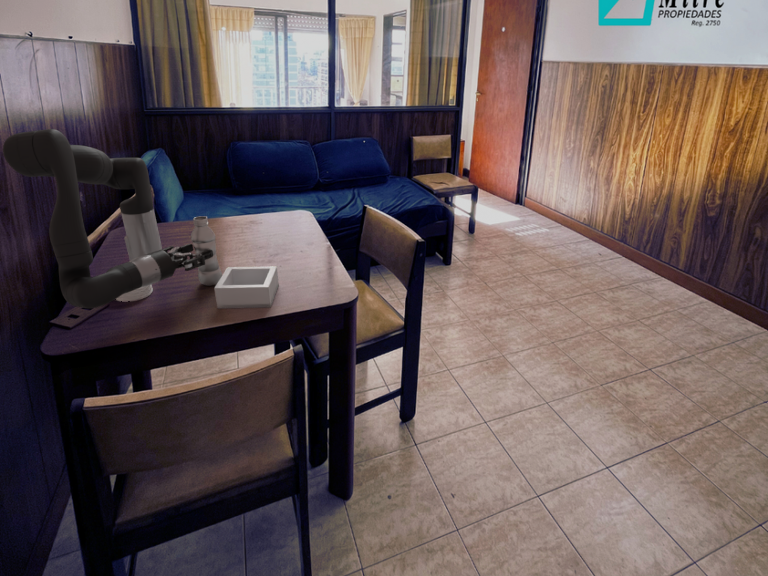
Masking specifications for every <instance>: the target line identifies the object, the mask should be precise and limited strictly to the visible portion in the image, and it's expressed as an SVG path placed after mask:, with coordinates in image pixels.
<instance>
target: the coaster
mask: <svg viewBox="0 0 768 576" xmlns="http://www.w3.org/2000/svg"><path fill="white" fill-rule="evenodd" d="M152 293H153V284H151V285H148V286H144V287H141V288H138V289H136V290H133V291H131V292H128V293H125V294H122V295H121V296H120V297H118V298H116V300H115V301H117V302H121V301H122V302H124V303H126V302H127V303H129V302H128V301H130V302H136V301H139V300H143V299H145V298H147V297H149V296H150V295H152Z"/></svg>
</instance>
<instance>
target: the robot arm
mask: <svg viewBox="0 0 768 576" xmlns="http://www.w3.org/2000/svg"><path fill="white" fill-rule="evenodd" d="M2 153H3V157H4V159H5V161H6V163H7V164H8V165H9V167H10V168H11V169H13V170H14V171H15V172H16V173H19V174H20V175H22V176H25V177H29V178H34V177H35V178H36V177H51V178H54V179H55V182H56V200H55V205H54V208H53V212H52V215H51V217H50V222H49V229H48V235H49V239H50V244H51V247H52V250H53V253H54V255H55V258H56V262H57V265H58V276H59V277H58V278H59V287H60V291H61V294H62V297H63V298H64V299H65V301H66V302H67V304H69V305H71V306H73V307H78V308H82V309H95V308H96V309H97V308H99V307H103V306H106V305H108V304H109V303H111V302H113V301H116V300H115V299H116V298H118V297H120V296H121V295H122V294H125V293H128V292H131V291H133V290H136V289H138V288H141V287H144V286H148V285H154V284H156V283H159V282H161V281H164V280H166V279H168V278H171V277H173V275H174V274H175V271H176V270H177V269H183V268H184V271H186V272H188V271H192V270H195V269H198V267H200V266H203V265H205V260H206V259H209V258H212V257H213V251H212V250H210V249H209V250H206V251H204V252H201V253H197V254H196V253H192V252H193V251H194V246H193V243H187V244H185V245H182V246H175V247H174V246H173V245H170V246H167V247H164V248H163V247H162V242H161V237H160V233H159V228H158V223H157V219H156V218H157V217H156V214H155V209H154V203H153V195H152V194H153V193H152V189H151V183H150V177H149V176H150V175H149V171H148V167H147V164H146V162H145V160H143V159H142V158H140V157H113V158H110V156H108V155H107V154H106V153H105V152H104V151H102V150H99V149H97V148H94V147H90V146H86V145H79V144H70V141H69V140H68V138H67V136H66V135H64V134H63V133H62V131H59V130H57V129H55V128H49V129H48V128H47V129H38V130H32V131H24V132H18V133H14V134H12V135H10V136H8V137H7V138H6V140H4V141H3V145H2ZM79 183H82V184H89V185H104V186H107V187H110V188H112V189H114V190H115V189H116V190H134V196H132V197H129V198H127V199H124V200H123V201H121V202H119V203H120V204H119V211H120V213H121V218H122V221H123V226H124V230H125V235H124V237H123V238H124V242H125V247H126V251H127V254H128V258H129V261H126V262H123V263H121V264H118V265H114V266H112V267H111V268H109V269H108V270H106V272H104V273H102V274H99V275H96V276H91V269H90V265H91V264H92V263H93V262H94V257H93V252H92V247H91V245H90V241H89V239H88V234H87V232H86V228H85V224H84V218H83V214H82V207H81V196H80V189H79Z"/></svg>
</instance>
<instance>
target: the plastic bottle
mask: <svg viewBox="0 0 768 576" xmlns="http://www.w3.org/2000/svg"><path fill="white" fill-rule="evenodd" d="M193 226H194V227H193V230H192V231H191V234H190V240H191V244H192V245H193V250H194V252H195V254H197V253H201V252H204V251H206V250H209V249H210V250H212V251H213V257H212V258H209V259H206V260H205V265H203V266H200V267H197V269H198V270H197V278H198V280H199V282H200V284H201V285H203V286H207V287H208V286H209V287H210V286H216V285H217V283H218V281H219V280H220V278H221V277H222V275H223V272H222V270H221V267H220V264H219V261H218V257H217V249H216V246H217V245H216V242H217V241H216V234H215V232H214V231H213V229H212V228H211V227H210V226H209V221H208V216H205V215H204V216H203V215H202V216H196V217H194V218H193Z"/></svg>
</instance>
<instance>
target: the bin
mask: <svg viewBox="0 0 768 576" xmlns="http://www.w3.org/2000/svg"><path fill="white" fill-rule="evenodd" d="M278 273H279V272H278V266H276V265H274V266H272V265H271V266H270V265H269V266H267V265H266V266H263V265H262V266H228V267H226V269H225V271H224V272H223V273H222V277H221V278H220V280H219V281H218V283H217V284H216V285H214V288H213V289H214V295H215V300H216V307H217V309H250V308H251V309H257V308H260V309H261V308H272V305H273V302H274V299H275V297H276V295H277V294H276V293H277V291H278V289H279V286H280V283H279V275H278Z"/></svg>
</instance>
